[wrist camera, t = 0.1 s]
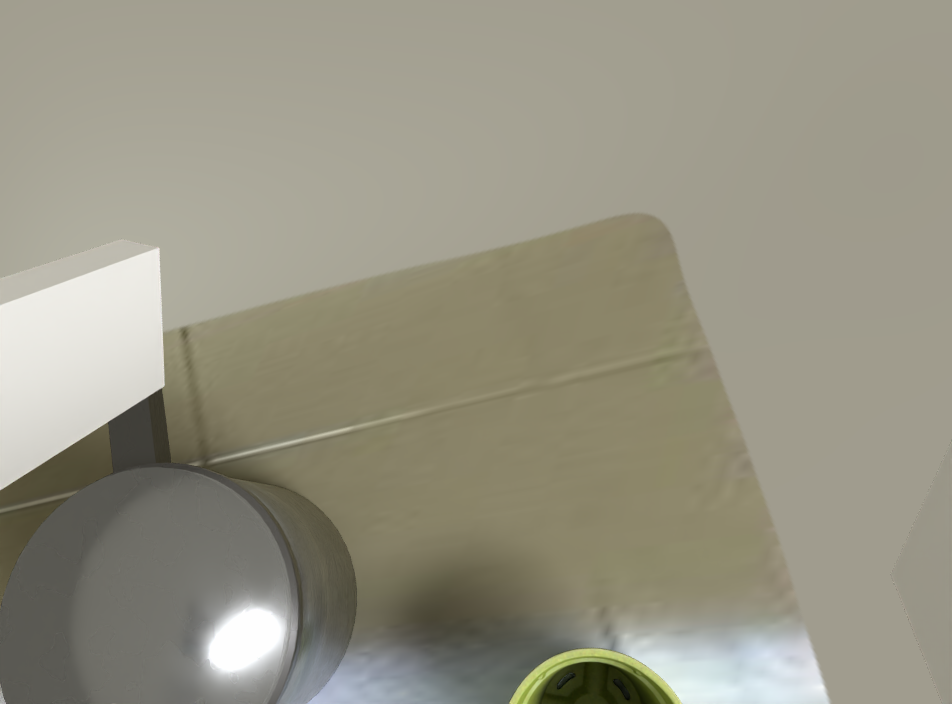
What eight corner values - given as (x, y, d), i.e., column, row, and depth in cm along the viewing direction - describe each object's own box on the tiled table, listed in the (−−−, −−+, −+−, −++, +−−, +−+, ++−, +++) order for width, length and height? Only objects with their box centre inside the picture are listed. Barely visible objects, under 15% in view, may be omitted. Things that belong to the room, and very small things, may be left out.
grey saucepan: (383, 702, 45) (318, 758, 34) (144, 758, 46) (1, 833, 35) (321, 372, 51) (247, 324, 39) (109, 429, 52) (-24, 399, 40)
